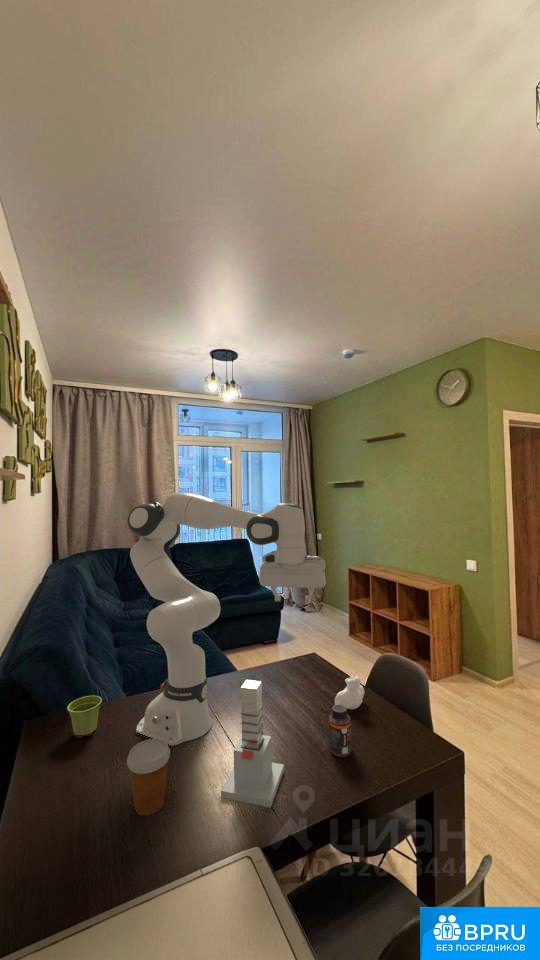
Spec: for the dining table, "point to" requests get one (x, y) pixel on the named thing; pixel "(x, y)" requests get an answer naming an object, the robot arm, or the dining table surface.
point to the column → (252, 715)
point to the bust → (351, 693)
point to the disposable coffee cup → (148, 774)
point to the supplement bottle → (340, 731)
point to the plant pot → (84, 714)
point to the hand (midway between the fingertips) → (292, 601)
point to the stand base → (253, 775)
